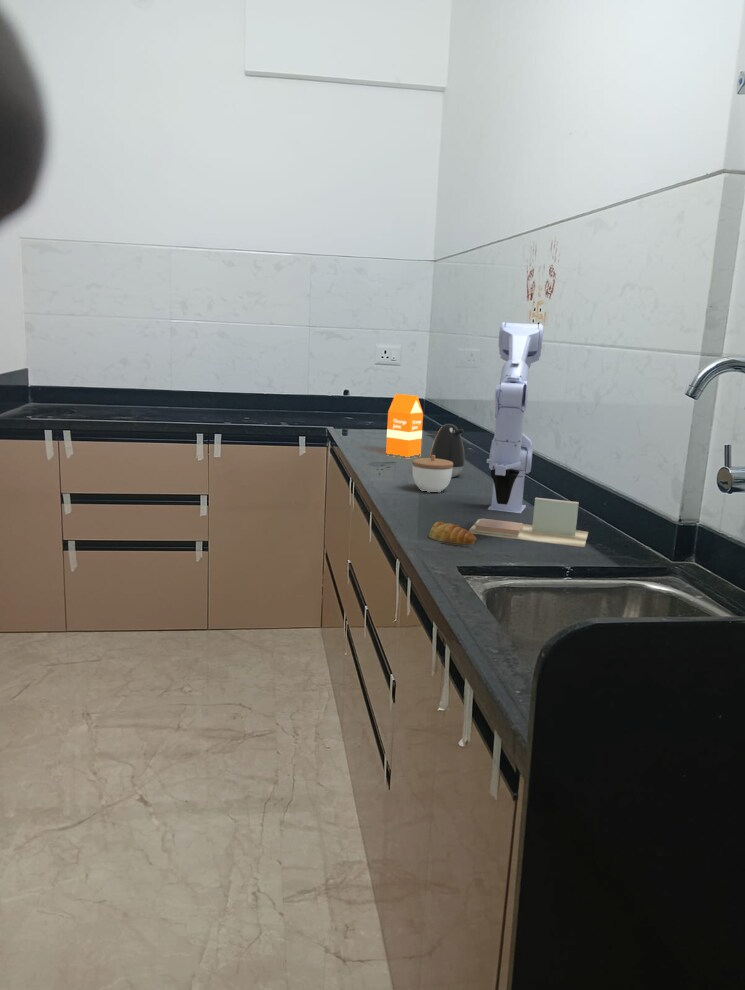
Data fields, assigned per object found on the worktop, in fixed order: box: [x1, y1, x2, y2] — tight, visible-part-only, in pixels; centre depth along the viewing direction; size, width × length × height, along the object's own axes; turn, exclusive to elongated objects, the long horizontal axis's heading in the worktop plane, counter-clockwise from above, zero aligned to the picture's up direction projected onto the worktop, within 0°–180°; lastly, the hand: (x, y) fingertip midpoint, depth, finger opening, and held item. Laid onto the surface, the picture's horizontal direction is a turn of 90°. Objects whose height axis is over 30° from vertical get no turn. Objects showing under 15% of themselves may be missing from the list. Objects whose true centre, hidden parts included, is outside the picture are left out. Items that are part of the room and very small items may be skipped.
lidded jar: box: [411, 455, 453, 493], centre depth 218 cm, size 11×11×9 cm
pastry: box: [428, 521, 477, 548], centre depth 168 cm, size 9×7×4 cm
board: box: [468, 518, 589, 548], centre depth 177 cm, size 14×24×1 cm, turn 72°
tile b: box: [532, 497, 579, 536], centre depth 177 cm, size 1×9×7 cm, turn 73°
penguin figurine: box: [429, 423, 466, 478], centre depth 239 cm, size 10×10×15 cm
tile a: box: [475, 518, 524, 537], centre depth 177 cm, size 1×9×7 cm
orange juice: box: [385, 393, 424, 457], centre depth 272 cm, size 8×9×20 cm
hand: (502, 503), depth 177 cm, fingers closed
